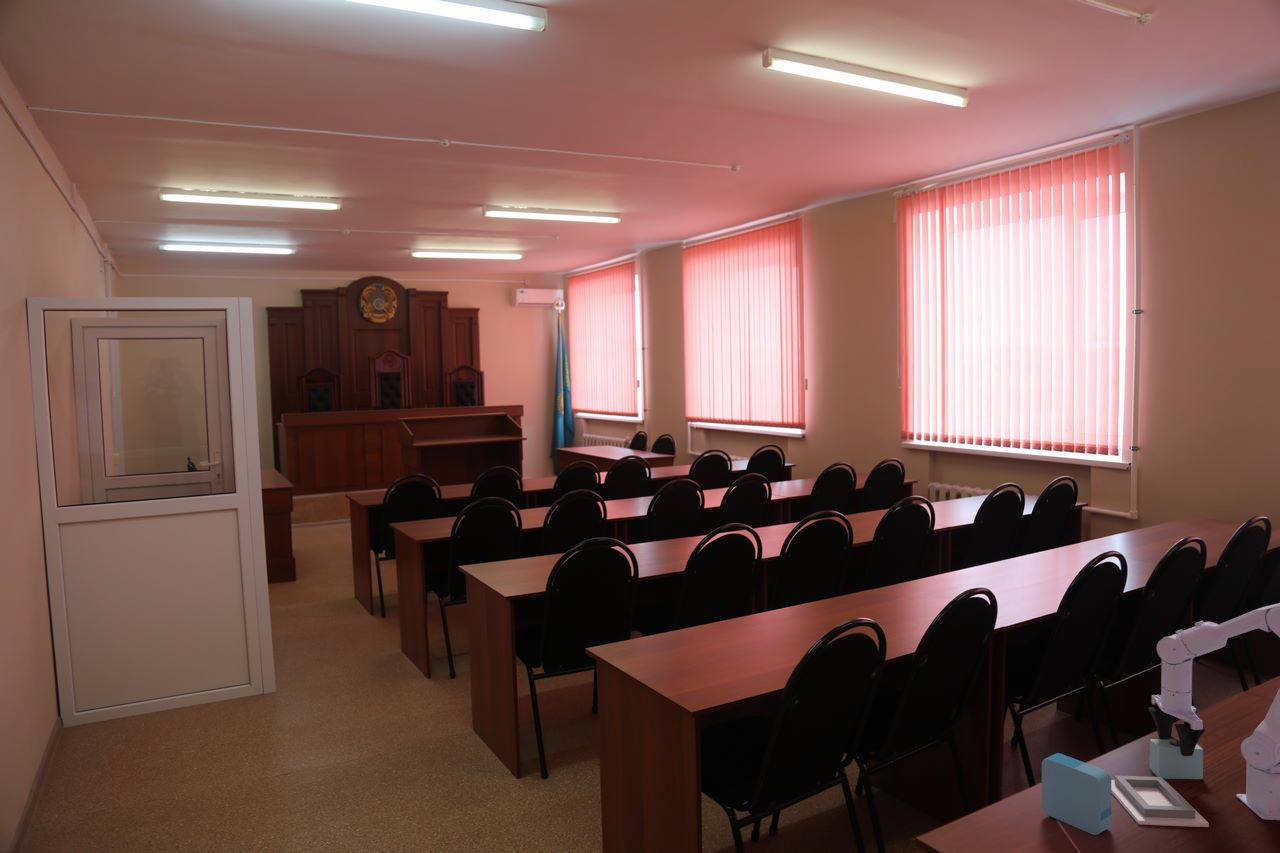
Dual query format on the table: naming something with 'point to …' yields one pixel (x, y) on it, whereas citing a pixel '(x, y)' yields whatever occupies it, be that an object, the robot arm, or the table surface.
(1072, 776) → the data package
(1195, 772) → the key block
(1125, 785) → the socket plate
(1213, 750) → the table surface
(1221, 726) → the table surface
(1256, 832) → the table surface
